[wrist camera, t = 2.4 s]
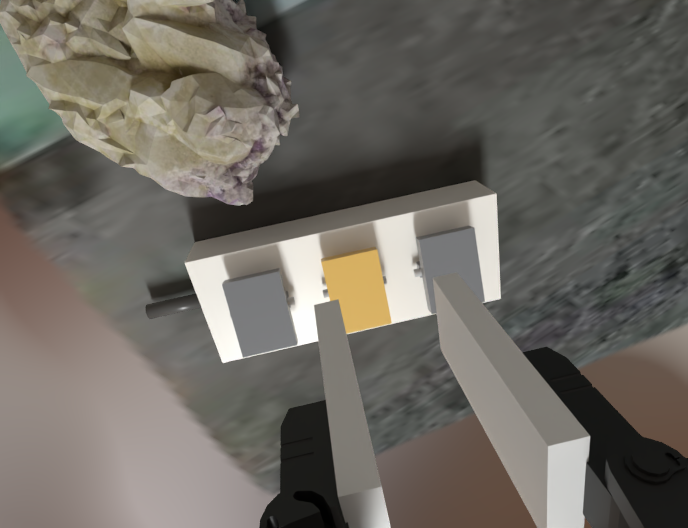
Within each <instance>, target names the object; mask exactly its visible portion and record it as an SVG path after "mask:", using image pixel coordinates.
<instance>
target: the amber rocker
mask: <svg viewBox="0 0 688 528" xmlns="http://www.w3.org/2000/svg"><path fill="white" fill-rule="evenodd" d="M321 263H322V268H323V272H324V277H325V281H326V285H327V290H328V294H329V298H330V301H333V300H339V304H340V308H341V313H342V317H343V321H344V326H345V330H346V334H348V333H352V332H357V331H361V330H365V329H370V328H374V327H378V326H383V325H387V324H391V323H392V321H391V316H390V311H389V306H388V301H387V296H386V291H385V286H384V281H383V276H382V271H381V266H380V261H379V256H378V250H377V248H376V247H370V248H366V249H362V250H357V251H353V252H348V253H344V254H339V255H335V256H330V257H326V258H321Z"/></svg>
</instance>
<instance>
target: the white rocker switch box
mask: <svg viewBox="0 0 688 528" xmlns="http://www.w3.org/2000/svg"><path fill="white" fill-rule="evenodd" d="M468 225H469V226H472V227H474V228H475V235H476V242H477V249H478V256H479V263H480V270H481V277H482V284H483V291H484V298H485V302H489V301H493V300H498V299H501V293H500V269H499V244H498V220H497V195H496V193H495V192H493V191H492V190H490V189H488V188H487V187H485V186H484V185H482V184H480V183H479V182H477V181H476V180H474V181H469V182H465V183H460V184H456V185H451V186H447V187H442V188H438V189H433V190H428V191H424V192H419V193H415V194H410V195H406V196H401V197H397V198H392V199H388V200H383V201H379V202H374V203H370V204H365V205H361V206H356V207H352V208H347V209H343V210H338V211H334V212H329V213H324V214H320V215H315V216H311V217H306V218H302V219H297V220H293V221H288V222H284V223H279V224H275V225H270V226H266V227H261V228H257V229H252V230H248V231H243V232H239V233H234V234H230V235H225V236H221V237H216V238H211V239H207V240H202V241H198V242H194V244H193V247H192V249H191V251H190V253H189V255H188V257H187V259H186V261H185V265H186V268H187V271H188V273H189V276H190V279H191V281H192V284H193V286H194V289H195V292H196V294H192V295H187V296H183V297H178V298H174V299H170V300H165V301H161V302H156V303H152V304H147V305H146V314H147V316H148V318H149V319H153V318H157V317H162V316H166V315H170V314H175V313H179V312H184V311H188V310H193V309H197V308H201V307H202V310H203V313H204V315H205V318H206V321H207V323H208V326H209V328H210V331H211V334H212V336H213V339H214V342H215V344H216V347H217V349H218V352H219V355H220V357H221V360H222V362H223V363H224V362H229V361H233V360H237V359H242V358H243V356H242V353H241V349H240V346H239V342H238V339H237V335H236V332H235V328H234V325H233V321H232V318H231V314H230V311H229V308H228V304H227V301H226V297H225V294H224V290H223V287H222V283H223V282H224V280H228V279H232V278H237V277H241V276H246V275H250V274H255V273H259V272H264V271H268V270H272V269H277V268H280V271H281V275H282V279H283V283H284V287H285V291H286V295H287V299H288V303H289V307H290V311H291V315H292V319H293V322H294V326H295V330H296V334H297V338H298V344H297V345H296V346H298V345H303V344H307V343H311V342H316V341H318V334H317V326H316V318H315V310H314V305H316V304H320V303H324V302H329V301H330V298H329V294H328V290H327V285H326V281H325V277H324V272H323V268H322V263H321V258H326V257H330V256H335V255H339V254H344V253H348V252H353V251H357V250H362V249H366V248H370V247H376V248H377V250H378V256H379V261H380V266H381V271H382V276H383V281H384V286H385V291H386V296H387V301H388V306H389V311H390V316H391V321H392V323H391V324H394V323H398V322H402V321H407V320H411V319H415V318H420V317H424V316H428V315H433V314H431V312H430V311H429V310H428V307H427V301H426V295H425V290H424V284H423V278H422V272H421V267H420V261H419V255H418V250H417V244H416V238H415V237H419V236H424V235H428V234H433V233H437V232H442V231H446V230H451V229H455V228H460V227H464V226H468ZM485 302H482V303H485ZM435 314H437V313H435ZM387 325H389V324H387ZM383 326H385V325H383ZM378 327H381V326H378ZM374 328H376V327H374ZM370 329H372V328H370ZM365 330H368V329H365ZM361 331H363V330H361ZM357 332H359V331H357ZM352 333H355V332H352ZM348 334H350V333H348ZM291 347H294V346H291ZM287 348H289V347H287ZM283 349H285V348H283ZM278 350H281V349H278ZM274 351H276V350H274ZM270 352H272V351H270ZM265 353H268V352H265ZM261 354H263V353H261ZM257 355H259V354H257ZM252 356H255V355H252ZM248 357H250V356H248ZM244 358H246V357H244Z"/></svg>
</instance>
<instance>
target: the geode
mask: <svg viewBox="0 0 688 528" xmlns="http://www.w3.org/2000/svg"><path fill="white" fill-rule="evenodd" d="M0 23H1V25H2V27H3V29H4V31H5V33H6V35H7V37H8V39H9V41H10V43H11V44H12V46H13V48H14V49H15V51H16V53H17V54H18V56H19V58H20V60H21V62H22V64H23V66H24V68H25V70H26V72H27V74H26V76H27V77H29V78H30V79H31V80H33V81H34V82H35V83H36V84H37V86H38V87H39V89H40V90H41V92H42V94H43V95H44V97H45V98H46V99H47V101H48V102H49V104H50V105H49V108H48V109H51V110H53V111H55V112H56V113H57V114H58V115H59V116H61V117H62V120H63V124H64V125H65V126H66V128H67V129H68V130H69V132H70V133H71V134H72V136H73V137H74V138H75V140H77V141H79V142H81V143H83V144H85V145H87V146H89V147H91V148H93V149H95V150H97V151H99V152H101V153H102V154H104V155H105V156H106V157H108V158H109V159H111V160H112V161H114V162H116V163H118V164H119V165H120V166H121V167H129V168H134V169H135V170H136V171H137V172H138V173H139V174H141V175H144V176H147V177H150V178H152V179H153V180H154V181H156V182H157V183H158V184H160V185H161V186H162V187H163V188H165V189H167V190H170V191H173V192H175V193H178V194H181V195H183V196H187V197H214V198H216V199H218V200H220V201H222V202H224V203H227V204H231V205H238V206H239V205H243V204H245V205H247V204H249V203H251V202H252V201H253V183H252V180H253V179H254V178H255V177H256V175H257V173H258V169H259V165H260V164H262V163H263V162H264V161H265V160H267V159H268V158H269V156H270V154H271V153H272V151H273V148H274V145H280V142H279V138H280V134H281V135H282V136H288V130H289V124H290V120H291V118H299V109H298V104H292V101H291V81H290V80H288V79H286V78H284V77H283V71H282V66H280V65H279V63H278V62H277V60H276V57H275V55H273V54H272V53H271V51H270V48H269V45H268V43H267V42H266V40H265V39H266V35H267V34H265V33H263V32H261V31H259V30H257V28H256V17H253V16H247V13H246V7H245V3H244V1H243V0H239V2H238V3H237V4H236V3H235V2H234V1H233V0H1V4H0Z"/></svg>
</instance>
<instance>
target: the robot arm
mask: <svg viewBox="0 0 688 528" xmlns="http://www.w3.org/2000/svg"><path fill="white" fill-rule="evenodd" d="M433 285H434V294H435V303H436V311H437V320H438V329H439V337H440V346H441V351H442V353H443V355H444V356H445V358H446V360H447V362H448V364H449V366H450V367H451V369H452V371H453V373H454V375H455V377H456V378H457V380H458V382H459V384H460V386H461V388H462V389H463V391H464V393H465V395H466V397H467V399H468V401H469V402H470V404H471V406H472V408H473V410H474V412H475V413H476V415H477V417H478V419H479V421H480V422H481V424H482V426H483V428H484V430H485V432H486V434H487V435H488V437H489V439H490V441H491V443H492V445H493V446H494V448H495V450H496V452H497V454H498V455H499V458H500V459H501V461H502V463H503V465H504V467H505V469H506V470H507V472H508V474H509V476H510V478H511V480H512V481H513V483H514V485H515V487H516V489H517V491H518V492H519V494H520V496H521V498H522V500H523V502H524V504H525V505H526V507H527V509H528V511H529V512H530V514H531V516H532V518H533V520H534V522H535V524H536V526H537V527H538V528H584V518H586V519H587V521H588V522H589V523H590V525H591V527H592V528H688V458H685V457H683V456H682V455H681V454H680V453H679V452H678V451H677V450H675V449H673V448H671V447H669V446H667V445H666V444H664V443H662V442H659V441H655V440H652V439H648V438H644V437H642V436H641V435H640V434H639V433H638V432H637V431H636V430H635V429H634V428H633V427H632V426H631V425H630V424H629V423H628V422H627V421H626V420H625V419H624V418H623V416H621V414H619V413H618V411H617V410H616V409H615V408H614V407H613V406H612V405H611V404H610V403H609V402H608V401H607V400H606V399H605V398H604V397H603V395H601V394H600V392H599V391H598V390H597V389H596V388H595V387H594V388H593V387H592V384H591V383H590V382H589V381H588V380H587V379H586V378H585V377H584V375H581V374H580V371H579V370H578V369H577V368H576V367H575V366H574V365H573V364H572V363H571V362H570V361H569V360H568V359H567V358H566V357H565V356H563V355H561V354H559V353H557V352H555V351H553V350H551V349H550V348H548V347H544V348H539V349H535V350H531V351H527V352H521V350H520V349H519V348H518V347H517V346H516V344H515V343H514V342H513V341H512V339H511V338H510V337H509V336H508V335H507V333H506V332H505V331H504V330H503V328H502V327H501V326H500V325H499V324H498V322H497V321H496V320H495V319H494V317H493V316H492V315H491V314H490V312H489V311H488V310H487V309H486V308H485V306H484V305H483V304H482V303H481V301H480V300H479V299H478V298H477V297H476V295H475V294H474V293H473V292H472V290H471V289H470V288H469V287H468V286H467V284H466V283H465V282H464V281H463V279H462V278H461V277H460V276H459V274H458V273H457V272H456V273H452V274H447V275H443V276H439V277H434V278H433ZM314 310H315V318H316V326H317V334H318V342H319V350H320V358H321V366H322V374H323V382H324V390H325V398H326V400H324V401H320V402H315V403H311V404H307V405H303V406H298V407H294V408H290V409H289V410H288V412H287V414H286V416H285V419H284V421H283V423H282V425H281V471H280V494H278V495H277V496H276V497H275V498H274V499H273V500H272V501H271V502H270V503H269V504H268V505H267V507H266V509H265V512H264V513H263V515H262V517H261V520H260V528H391V527H390V522H389V518H388V514H387V509H386V504H385V500H384V496H383V491H382V486H381V482H380V478H379V473H378V469H377V465H376V460H375V456H374V452H373V447H372V443H371V439H370V434H369V430H368V425H367V421H366V417H365V412H364V408H363V404H362V399H361V395H360V391H359V386H358V382H357V378H356V373H355V369H354V365H353V360H352V356H351V352H350V347H349V343H348V339H347V334H346V330H345V326H344V321H343V317H342V313H341V308H340V304H339V300H333V301H329V302H324V303H320V304H316V305H314Z"/></svg>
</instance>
